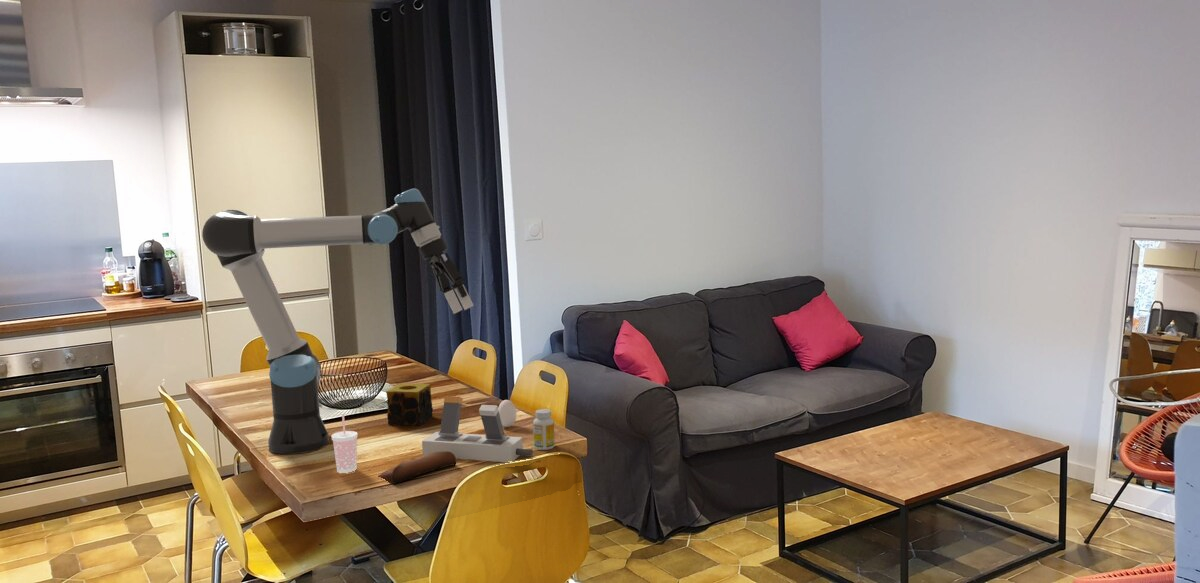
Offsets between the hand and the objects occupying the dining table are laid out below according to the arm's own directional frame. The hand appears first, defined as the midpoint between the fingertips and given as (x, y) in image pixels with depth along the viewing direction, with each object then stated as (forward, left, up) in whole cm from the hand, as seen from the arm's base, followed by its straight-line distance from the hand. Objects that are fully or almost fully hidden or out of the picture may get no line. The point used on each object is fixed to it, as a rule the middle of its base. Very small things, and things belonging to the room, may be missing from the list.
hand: (463, 310), depth 255 cm
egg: (+4, -13, -32) cm, 35 cm away
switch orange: (-21, -21, -27) cm, 40 cm away
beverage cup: (-45, -13, -32) cm, 57 cm away
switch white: (-14, -32, -27) cm, 44 cm away
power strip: (-16, -28, -32) cm, 46 cm away
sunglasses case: (-34, -27, -33) cm, 55 cm away
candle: (-11, +13, -32) cm, 37 cm away
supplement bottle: (-1, -35, -32) cm, 48 cm away
